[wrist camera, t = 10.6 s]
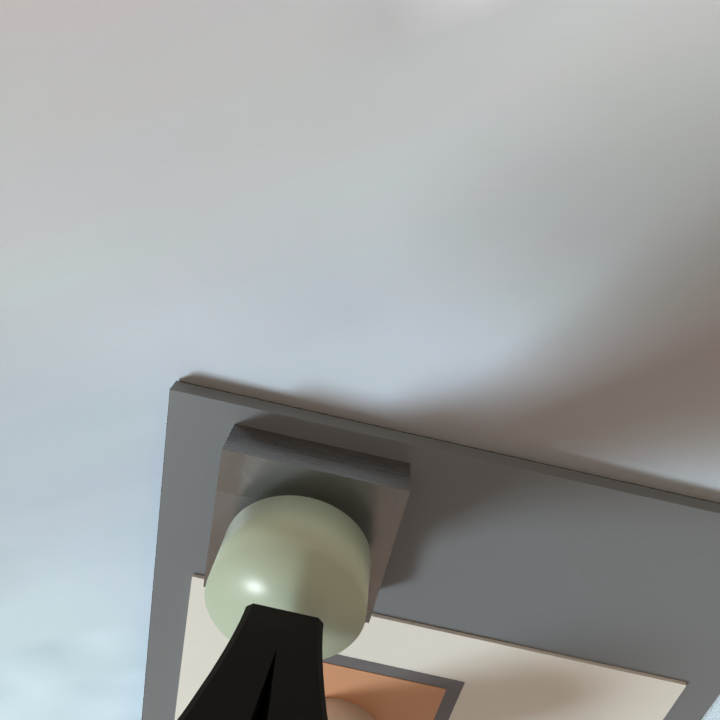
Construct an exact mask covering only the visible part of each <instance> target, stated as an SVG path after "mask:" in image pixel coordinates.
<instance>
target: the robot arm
mask: <svg viewBox="0 0 720 720" xmlns="http://www.w3.org/2000/svg"><path fill="white" fill-rule="evenodd" d="M322 641H323V622H322V621H321V620H320V619H319V618H317V617H313V616H308V615H304V614H299V613H295V612H290V611H286V610H281V609H277V608H272V607H268V606H263V605H259V604H254V603H253V604H251V605H248V606H246V608H245V610H244V613H243V615H242V617H241V620H240V622H239V624H238V626H237V627H236V629H235V631H234V633H233V635H232V637H231V639H230V641H229V642H228V644H227V646H226V647H225V649H224V651H223V652H222V654H221V656H220V657H219V659H218V661H217V662H216V664H215V665H214V667H213V669H212V670H211V672H210V673H209V675H208V676H207V678H206V679H205V681H204V682H203V684H202V685H201V687H200V688H199V689H198V691H197V692H196V694H195V695H194V697H193V698H192V700H191V701H190V703H189V704H188V706H187V707H186V708H185V710H184V711H183V713H182V714H181V715H180V717H179V718H178V719H177V720H328V717H327V709H326V700H325V689H324V676H323V656H322Z"/></svg>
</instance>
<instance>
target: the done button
mask: <svg viewBox="0 0 720 720" xmlns="http://www.w3.org/2000/svg"><path fill="white" fill-rule="evenodd" d="M370 569H371V552H370V547H369V544H368V541H367V539H366V537H365V535H364V533H363V532H362V530H361V529H360V527H359V526H358V525H357V524H356V523H355V522H354V521H353V520H352V519H351V518H350V517H349V516H348V515H347V514H345V513H344V512H342V511H341V510H339V509H338V508H336V507H334V506H332V505H330V504H328V503H325V502H323V501H320V500H317V499H313V498H310V497H304V496H294V495H284V496H275V497H269V498H266V499H262V500H259V501H257V502H255V503H252V504H251V505H249V506H247V507H246V508H244V509H243V510H242V511H241V512H239V513H238V514H237V515H236V516H235V518H234V519H233V520H232V522H231V523H230V525H229V527H228V529H227V532H226V534H225V537H224V539H223V542H222V544H221V547H220V549H219V551H218V554H217V556H216V559H215V561H214V564H213V566H212V569H211V571H210V574H209V576H208V579H207V581H206V586H205V595H204V597H205V604H206V608H207V611H208V613H209V615H210V618H211V620H212V621H213V623H214V624H215V626H216V627H217V628H218V629H219V630H220V632H221V633H222V634H223V635H224V636H226V637H227V638H228V639H229V640H230V639H231V637H232V635H233V633H234V631H235V629H236V627H237V626H238V624H239V622H240V620H241V617H242V615H243V613H244V610H245V608H246V606H248V605H251V604H253V603H254V604H259V605H263V606H268V607H272V608H277V609H281V610H286V611H290V612H295V613H299V614H304V615H308V616H313V617H317V618H319V619H320V620H321V621H322V622H323V641H322V656H323V659H326V658H329V657H332V656H334V655H336V654H338V653H340V652H342V651H343V650H345V649H346V648H347V647H349V646H350V645H351V644H352V643H353V642H354V641H355V640H356V639H357V638H358V636H359V635H360V633H361V631H362V629H363V627H364V624H365V620H366V614H367V603H368V591H369V580H370Z"/></svg>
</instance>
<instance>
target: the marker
mask: <svg viewBox="0 0 720 720" xmlns="http://www.w3.org/2000/svg"><path fill="white" fill-rule="evenodd" d="M325 700H326V709H327V717H328V720H375V719H374V717H373V716H372V715H371V714H370V713H369V712H367V711H366V710H365V709H363V708H362V707H360V706H358V705H356V704H354V703H352V702H349V701H346V700H342V699H337V698H327V697H325Z"/></svg>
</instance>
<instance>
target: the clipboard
mask: <svg viewBox="0 0 720 720" xmlns="http://www.w3.org/2000/svg"><path fill="white" fill-rule="evenodd" d="M234 424H238V425H242V426H247V427H251V428H256V429H260V430H265V431H269V432H273V433H278V434H282V435H287V436H291V437H296V438H300V439H304V440H309V441H313V442H318V443H322V444H327V445H331V446H336V447H340V448H344V449H349V450H353V451H358V452H362V453H367V454H371V455H376V456H380V457H384V458H389V459H393V460H398V461H402V462H407V463H411V467H410V494H409V497H408V500H407V503H406V506H405V510H404V513H403V516H402V519H401V522H400V526H399V529H398V532H397V535H396V538H395V542H394V545H393V548H392V551H391V554H390V558H389V561H388V564H387V567H386V570H385V574H384V577H383V580H382V583H381V586H380V590H379V593H378V596H377V599H376V602H375V606H374V609H373V612H372V615H371V618H370V622H369V623H365V624H364V627H363V629H362V631H361V633H360V635H359V636H358V638H357V639H356V640H355V641H354V642H353V643H352V644H351V645H350V646H349V647H347V648H346V649H345V650H343V651H342V652H340V653H338V654H336V655H334V656H332V657H329V658H326V659H323V676H324V689H325V697H327V698H337V699H342V700H346V701H349V702H352V703H354V704H356V705H358V706H360V707H362V708H363V709H365V710H366V711H367V712H369V713H370V714H371V715H372V716H373V717H374V719H375V720H701V719H702V717H703V716H704V714H705V713H706V712H707V710H708V709H709V708H710V706H711V705H712V704H713V702H714V701H715V699H716V698H717V697H718V695H719V694H720V504H718V503H714V502H709V501H705V500H700V499H696V498H691V497H687V496H683V495H678V494H674V493H669V492H665V491H661V490H656V489H652V488H647V487H643V486H638V485H634V484H630V483H625V482H621V481H616V480H612V479H607V478H603V477H599V476H594V475H590V474H585V473H581V472H577V471H572V470H568V469H563V468H559V467H554V466H550V465H546V464H541V463H537V462H532V461H528V460H523V459H519V458H515V457H510V456H506V455H501V454H497V453H493V452H488V451H484V450H479V449H475V448H470V447H466V446H462V445H457V444H453V443H448V442H444V441H439V440H435V439H431V438H426V437H422V436H417V435H413V434H409V433H404V432H400V431H395V430H391V429H386V428H382V427H378V426H373V425H369V424H364V423H360V422H355V421H351V420H347V419H342V418H338V417H333V416H329V415H325V414H320V413H316V412H311V411H307V410H302V409H298V408H294V407H289V406H285V405H280V404H276V403H271V402H267V401H263V400H258V399H254V398H249V397H245V396H241V395H236V394H232V393H227V392H223V391H218V390H214V389H210V388H205V387H201V386H196V385H192V384H187V383H183V382H179V381H176V382H175V383H174V385H173V386H172V387H171V389H170V393H169V405H168V416H167V428H166V440H165V452H164V463H163V475H162V487H161V498H160V510H159V522H158V534H157V545H156V557H155V569H154V580H153V592H152V604H151V616H150V627H149V639H148V651H147V663H146V674H145V686H144V698H143V709H142V720H177V719H178V718H179V717H180V715H181V714H182V713H183V711H184V710H185V708H186V707H187V706H188V704H189V703H190V701H191V700H192V698H193V697H194V695H195V694H196V692H197V691H198V689H199V688H200V687H201V685H202V684H203V682H204V681H205V679H206V678H207V676H208V675H209V673H210V672H211V670H212V669H213V667H214V665H215V664H216V662H217V661H218V659H219V657H220V656H221V654H222V652H223V651H224V649H225V647H226V646H227V644H228V642H229V641H230V640H229V639H228V638H227V637H226V636H224V635H223V634H222V633H221V632H220V630H219V629H218V628H217V627H216V626H215V624H214V623H213V621H212V620H211V618H210V615H209V613H208V611H207V608H206V604H205V597H204V595H205V587H203V585H204V578H205V570H206V563H207V556H208V548H209V541H210V533H211V526H212V519H213V511H214V504H215V497H216V489H217V482H218V475H219V467H220V460H221V452H222V448H223V446H224V444H225V442H226V440H227V438H228V436H229V434H230V432H231V430H232V428H233V426H234Z"/></svg>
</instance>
